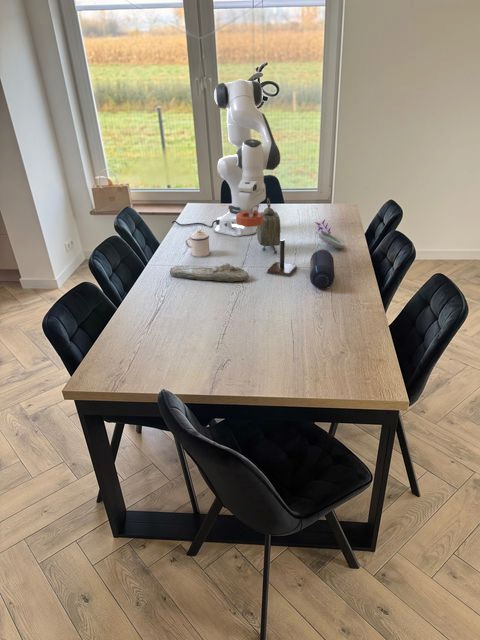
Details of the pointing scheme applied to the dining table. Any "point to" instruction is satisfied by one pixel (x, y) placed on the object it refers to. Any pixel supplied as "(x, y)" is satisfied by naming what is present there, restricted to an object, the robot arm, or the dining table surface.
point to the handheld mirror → (328, 236)
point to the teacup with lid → (199, 244)
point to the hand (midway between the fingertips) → (253, 215)
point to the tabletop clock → (269, 229)
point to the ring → (249, 219)
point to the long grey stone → (211, 273)
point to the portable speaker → (322, 269)
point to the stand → (282, 263)
